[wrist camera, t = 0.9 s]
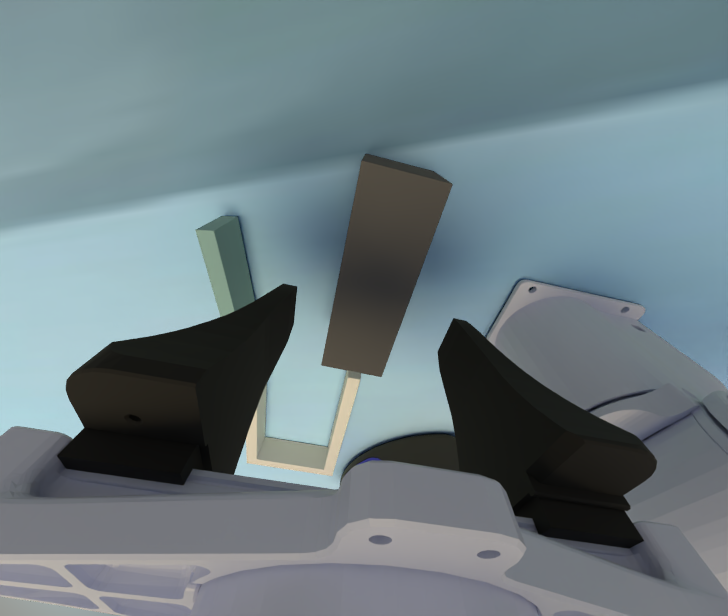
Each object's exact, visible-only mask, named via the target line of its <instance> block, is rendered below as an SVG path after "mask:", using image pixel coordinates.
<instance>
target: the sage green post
mask: <svg viewBox="0 0 728 616" xmlns="http://www.w3.org/2000/svg"><path fill="white" fill-rule="evenodd" d="M196 233H197V237H198V240H199V244H200V247H201V251H202V254H203V257H204V261H205V264H206V268H207V271H208V275H209V278H210V282H211V285H212V288H213V292H214V295H215V299H216V302H217V306H218V309H219V312H220V316H221V317H222V316H225V315H227V314H229V313H232V312H234V311H236V310H238V309H240V308H242V307H244V306H246V305H248V304H250V303H252V302H254V301H255V299H254V294H253V289H252V284H251V279H250V275H249V270H248V265H247V260H246V255H245V250H244V245H243V240H242V235H241V230H240V226H239V221H238V217H234V216H221V217H219V218H217V219H215V220H213V221H211V222H210V223H208V224H206V225H204V226H202V227H200V228H198V229H196Z"/></svg>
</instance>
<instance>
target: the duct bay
mask: <svg viewBox="0 0 728 616" xmlns="http://www.w3.org/2000/svg"><path fill="white" fill-rule="evenodd" d="M360 378H361V373H358V372H353V371H348V370H347V372H346V376H345V380H344V384H343V388H342V392H341V396H340V400H339V404H338V408H337V412H336V416H335V420H334V424H333V428H332V432H331V436H330V440H329V444H328V447H325V446H319V445H313V444H306V443H300V442H294V441H288V440H282V439H276V438H269V437H265V423H266V393H267V384H266V386H265V388H264V391H263V393H262V396H261V399H260V401H259V404H258V406H257V409H256V412H255V415H254V417H253V420H252V423H251V426H250V428H249V431H248V434H247V437H246V447H247V463H250V464H257V465H263V466H270V467H276V468H283V469H289V470H296V471H302V472H309V473H315V474H322V475H328V476H332V475H333V471H334V468H335V464H336V461H337V458H338V454H339V451H340V447H341V444H342V441H343V437H344V434H345V430H346V427H347V424H348V420H349V417H350V413H351V410H352V407H353V403H354V400H355V396H356V393H357V390H358V386H359V383H360Z"/></svg>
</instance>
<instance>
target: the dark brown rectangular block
mask: <svg viewBox="0 0 728 616" xmlns="http://www.w3.org/2000/svg"><path fill="white" fill-rule="evenodd" d="M452 185H453V184H452V183H450V182H449V181H447V180H446V179H444V178H443V177H441V176H440V175H438V174H437V173H435V172H434V171H430V170H427V169H423V168H419V167H415V166H411V165H408V164H404V163H400V162H396V161H392V160H389V159H385V158H381V157H377V156H373V155H370V154H365V156H364V157H363V159H362V161H361V166H360V172H359V177H358V182H357V187H356V192H355V197H354V202H353V207H352V212H351V217H350V222H349V227H348V233H347V238H346V243H345V248H344V253H343V258H342V263H341V268H340V273H339V278H338V283H337V288H336V293H335V299H334V304H333V309H332V314H331V319H330V324H329V329H328V334H327V339H326V344H325V349H324V354H323V360H322V366H327V367H333V368H338V369H343V370H348V371H353V372H358V373H363V374H369V375H374V376H379V377H382V374H383V371H384V369H385V366H386V363H387V361H388V358H389V355H390V352H391V350H392V347H393V344H394V342H395V339H396V336H397V334H398V331H399V328H400V325H401V323H402V320H403V317H404V315H405V312H406V309H407V306H408V304H409V301H410V298H411V296H412V293H413V290H414V288H415V285H416V282H417V279H418V277H419V274H420V271H421V269H422V266H423V263H424V260H425V258H426V255H427V252H428V250H429V247H430V244H431V242H432V239H433V236H434V233H435V231H436V228H437V225H438V223H439V220H440V217H441V215H442V212H443V209H444V206H445V204H446V201H447V198H448V196H449V193H450V190H451V187H452Z"/></svg>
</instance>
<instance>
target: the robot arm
mask: <svg viewBox="0 0 728 616" xmlns="http://www.w3.org/2000/svg"><path fill="white" fill-rule="evenodd" d="M530 287H534V288H533V289H532V290H529V288H530ZM296 294H297V286H292V285H287V284H282V285H280V286H279V287H277V288H275V289H274V290H272V291H271V292H269V293H267V294H266V295H264V296H262V297H261V298H259V299H257V300H255V301H254V302H252V303H250V304H248V305H246V306H244V307H242V308H240V309H238V310H236V311H234V312H232V313H229V314H227V315H225V316H222V317H219V318H217V319H214V320H211V321H208V322H205V323H202V324H199V325H195V326H192V327H189V328H185V329H181V330H177V331H173V332H169V333H164V334H160V335H155V336H149V337H143V338H137V339H130V340H124V341H117V342H112V343H110V344H109V345H108V346H106V347H105V348H104V349H103V350H101V351H100V352H99V353H98V354H96V355H95V356H94V357H92V358H91V359H90V360H89V361H87V362H86V363H85V364H84V365H82V366H81V367H80V368H79V369H77V370H76V371H75V372H73V373H72V374H71V376H70V377H69V378H68V379H67V382H66V392H67V395H68V398H69V400H70V402H71V404H72V406H73V407H74V409H75V411H76V413H77V415H78V417H79V418H80V420H81V422H82V424H83V426H84V427H85V428H84V429H83V430H82V431H81V432H80V433H79V434H78V435H77V436H76V437H75V438H74V439H72V438H71V437H69V436H67V435H65V434H62V433H59V432H54V431H47V430H40V429H34V428H27V427H21V426H15V427H11V428H10V429H9V430H8V431H6V432H5V433H4V434H3V435H1V436H0V597H7V598H14V599H22V600H30V601H35V602H42V603H49V604H54V605H61V606H67V607H73V608H79V609H85V610H91V611H96V612H102V613H108V614H114V615H120V616H728V390H727V389H726V387H725V386H724V385H723V384H722V383H721V382H720V381H719V380H718V379H717V378H716V377H715V376H714V375H712V374H711V373H710V372H708V371H707V370H705V369H704V368H703V367H701V366H700V365H698V364H697V363H696V362H694V361H693V360H691V359H690V358H689V357H687V356H686V355H685V354H683V353H682V352H680V351H679V350H678V349H676V348H675V347H673V346H672V345H671V344H669V343H668V342H666V341H665V340H664V339H662V338H661V337H659V336H658V335H657V334H655V333H654V332H653V331H651V330H650V329H648V328H647V327H646V326H644V325H643V324H641V323H640V322H639V321H638V320H639V319H640V318H641V316H642V315H643V314H644V313H645V308H644V307H643V306H641V305H639V304H635V303H630V302H626V301H621V300H617V299H612V298H608V297H603V296H599V295H594V294H590V293H585V292H581V291H576V290H572V289H567V288H562V287H558V286H553V285H549V284H544V283H540V282H535V281H531V280H521V281H520V282H518V284H517V285H516V287H515V288H514V290H513V292H512V294H511V295H510V297H509V299H508V301H507V302H506V304H505V306H504V308H503V309H502V311H501V313H500V314H499V316H498V318H497V320H496V321H495V323H494V325H493V327H492V328H491V330H490V332H489V334H488V335H487V337H486V338H485V337H484V336H483V335H482V334H481V333H480V332H479V331H478V330H477V329H475V328H474V327H473V326H472V325H471V324H470V323H468V322H467V321H464V320H459V319H454V318H453V320H452V322H451V325H450V327H449V329H448V331H447V333H446V335H445V337H444V339H443V342H442V344H441V346H440V348H439V350H438V360H439V368H440V373H441V377H442V381H443V385H444V389H445V393H446V396H447V400H448V404H449V408H450V411H451V415H452V420H453V425H454V432H455V438H456V445H457V453H458V462H459V471H454V470H447V469H441V468H434V467H428V466H422V465H415V464H409V463H403V462H396V461H375V460H371V461H368V462H365V463H362V464H359V465H355V466H354V467H353V468H351V469H350V470H349V472H348V473H347V474H346V475H345V476H344V477H343V478H342V481H341V484H340V487H339V489H335V490H334V489H327V488H320V487H314V486H307V485H300V484H293V483H286V482H280V481H273V480H266V479H259V478H252V477H245V476H239V475H234V473H235V469H236V466H237V463H238V460H239V457H240V454H241V452H242V449H243V446H244V443H245V440H246V437H247V434H248V431H249V428H250V426H251V423H252V420H253V417H254V415H255V412H256V409H257V406H258V404H259V401H260V399H261V396H262V393H263V391H264V388H265V386H266V384H267V382H268V380H269V378H270V376H271V374H272V372H273V370H274V368H275V366H276V364H277V362H278V360H279V358H280V356H281V354H282V352H283V350H284V348H285V346H286V344H287V342H288V339H289V336H290V333H291V330H292V327H293V324H294V315H295V304H296ZM621 309H622V310H621Z"/></svg>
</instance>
